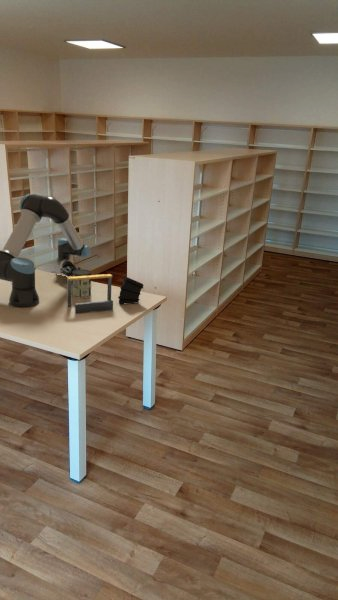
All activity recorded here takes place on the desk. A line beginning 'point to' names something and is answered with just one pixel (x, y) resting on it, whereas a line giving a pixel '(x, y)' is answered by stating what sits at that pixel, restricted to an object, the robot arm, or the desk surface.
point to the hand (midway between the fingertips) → (77, 277)
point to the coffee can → (82, 284)
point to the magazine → (130, 291)
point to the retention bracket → (91, 305)
